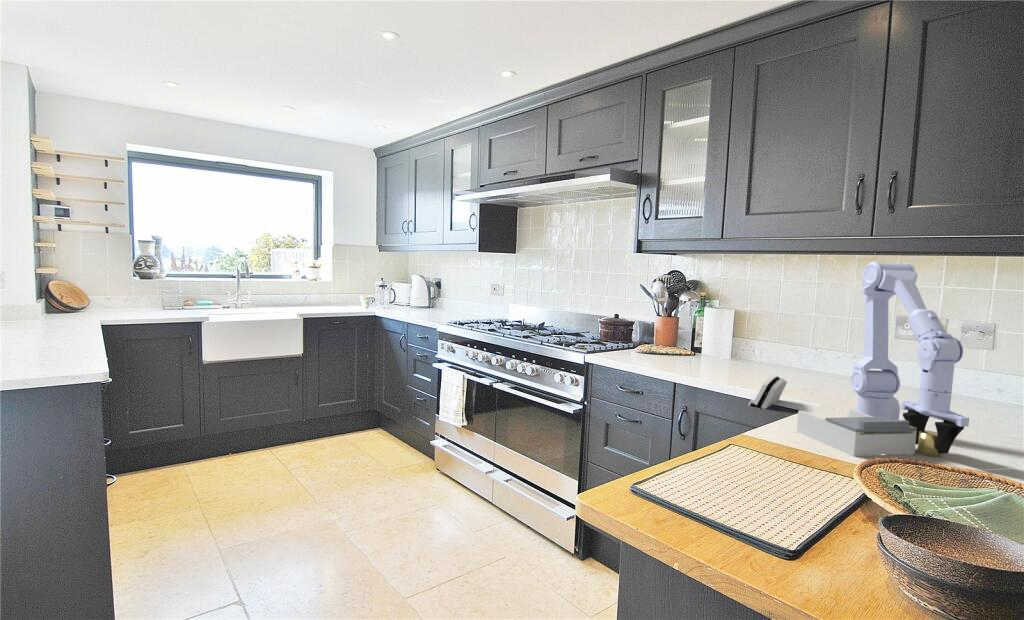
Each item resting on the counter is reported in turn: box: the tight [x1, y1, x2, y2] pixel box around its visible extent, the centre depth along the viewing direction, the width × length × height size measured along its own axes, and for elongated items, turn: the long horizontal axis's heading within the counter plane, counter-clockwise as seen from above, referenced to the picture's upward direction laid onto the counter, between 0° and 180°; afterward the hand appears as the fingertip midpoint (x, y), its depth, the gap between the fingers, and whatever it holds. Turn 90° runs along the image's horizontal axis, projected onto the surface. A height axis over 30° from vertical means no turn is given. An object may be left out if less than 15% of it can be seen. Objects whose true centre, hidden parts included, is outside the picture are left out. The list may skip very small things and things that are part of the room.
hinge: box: [747, 374, 788, 410], centre depth 167 cm, size 17×5×10 cm, turn 141°
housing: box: [796, 409, 917, 457], centre depth 129 cm, size 16×18×6 cm
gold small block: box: [916, 429, 942, 458], centre depth 123 cm, size 4×4×5 cm
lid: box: [824, 416, 917, 432], centre depth 125 cm, size 16×9×2 cm, turn 101°
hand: (929, 448), depth 123 cm, fingers open, 6 cm apart
